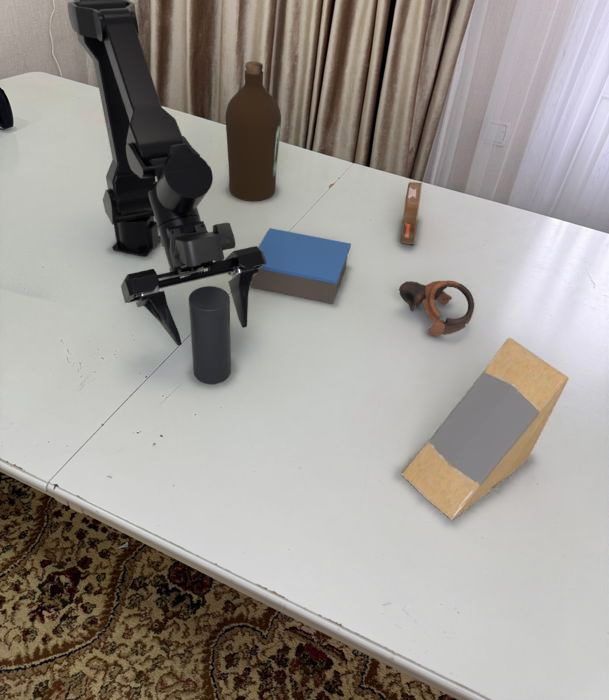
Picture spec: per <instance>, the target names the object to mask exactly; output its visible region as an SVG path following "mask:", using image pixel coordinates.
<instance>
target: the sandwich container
mask: <svg viewBox="0 0 609 700" xmlns="http://www.w3.org/2000/svg"><path fill="white" fill-rule="evenodd" d="M568 381H569V376H567V375H566V374H565V373H563V372H561V371H560V370H558V369H557V368H555V367H554V366H552V365H551V364H550V363H548V362H547V361H545V359H543V358H541V357H540V356H538V355H537V354H535V353H533V352H532V351H531V350H530V349H528V348H527V347H525V346H524V345H522V344H520V343H519V342H518V341H516V340H514V338H511V337H508V338H507V339H506V340H505V341H504V342H503V344H502V345H501V346H500V348H499V350H498V351H497V352H496V354H495V355H494V356H493V358H492V359H491V360H490V362H489V363H488V364H487V365H486V367H485V368H484V370H483V371H482V373H481V374H480V375H479V376H478V378H477V379H476V380H475V382H473V384H472V386H471V387H470V388H469V389H468V390H467V392H466V393H465V394H464V395H463V397H462V398H461V399H460V401H459V402H458V403H457V405H455V407H454V408H453V409H452V411H451V412H450V413H449V415H448V416H447V417H446V418H445V420H444V421H443V422H442V423H441V424H440V426H439V427H438V429H436V431H435V432H434V434H433V435H432V436H431V437H430V438H429V440H428V441H427V442H426V443H425V445H424V446H423V448H421V450H420V451H419V452H418V453H417V455H416V456H415V457H414V459H412V461H411V462H410V463H409V464H408V466H407V467H406V468H405V469H404V471H403V472H402V473H401V476H402V477H403V478H405V480H406V481H408V483H410V484H411V485H412V487H414V488H415V490H417V491H418V492H419V494H421V495H422V496H423V497H424V498H425V499H426V500H427V501H429V502H430V503H431V504H432V505H433V506H434V507H436V508H437V509H438V510H439V511H440V512H442V513H443V514H444V515H445V516H446V517H448V518H449V519H450V520H451V521H453V520H454V519H455V518H456V517H458V516H459V515H461V514H462V513H463V512H465V511H466V510H467V509H469V508H470V507H471V506H473V505H474V504H475V503H477V502H478V501H479V500H481V499H482V498H484V497H486V495H488V494H489V493H490V492H491V491H492V490H494V489H495V488H496V487H497V486H498V485H500V484H501V483H502V482H503V481H504V480H505V479H508V478H509V477H510V476H511V475H512V474H514V473H515V472H516V471H517V469H519V468H520V467H521V466H522V465H523V464H524V463H526V461H527V460H528V459H529V458H530V456H531V454H532V451H533V450H534V448H535V446H536V444H537V442H538V440H539V438H540V437H541V434H542V433H543V431H544V429H545V426H546V424H547V423H548V420H549V419H550V417H551V416H552V412H553V411H554V409H555V407H556V405H557V403H558V401H559V399H560V397H561V395H562V393H563V392H564V390H565V387H566V385H567V383H568Z"/></svg>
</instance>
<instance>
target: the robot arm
mask: <svg viewBox="0 0 609 700" xmlns="http://www.w3.org/2000/svg"><path fill="white" fill-rule="evenodd" d="M67 13H68V19H69V22H70V26H71V28H72V30H73V31H74V32H75V33H76V36H77V41H78V43H79V44H80V45H81V47H82V48H83V50H85V52H86V53H87V54H88V55H89V57H90V58H91V59H92V61H93V65H94V70H95V75H96V81H97V85H98V91H99V95H100V101H101V107H102V112H103V117H104V122H105V127H106V133H107V137H108V143H109V147H110V152H111V159H112V160H111V162H110V165H109V168H108V170H107V172H106V175H105V180H106V186H107V189H105V190H104V193H103V197H102V203H103V207H104V212H105V214H106V216H107V217H108V219H109V222H110V223H111V225H113V228H114V235H115V243H114V244H113V246H112V247H111V248H112V251H115V252H120V253H125V254H130V255H134V256H140V257H148V255H150V253H151V252H152V251H153V249H154V248H155V247H156V246H157V245H158V244H159V242H160V243H161V247H162V248H163V250H164V253H165V256H166V260H167V263H168V267H169V268H168V270H169V271H167V272H164V273H159V274H158V273H157V271H156V270H155V269H154V268H149V269H146V270H141V271H135V272H131V273H127V274H126V276H125V278H124V279H123V281H122V283H121V285H120V288H121V289H120V290H121V294H122V297H123V301H124V303H125V304H127V303H128V304H129V303H133V302H134V303H135V302H136V303H135V305H136V307H137V308H140V307H144V308H145V309H146V310H147V311H148V312H149V313H150V314H151V315H152V316H153V317H154V318H155V319H156V320H157V321H158V322H159V323H160V325H161V326H162V328H163V329H164V330H165V332H166V333H167V334H168V335H169V336H170V338H171V339H172V340H173V342H174V343H175V345H176V346H177V347H179V346H182V338H181V335H180V332H179V330H178V327H177V325H176V322H175V320H174V317H173V315H172V312H171V310H170V308H169V305H168V301H167V296H166V292H165V290H161V289H166V288H170V287H174V286H178V285H182V284H188V283H190V282H191V283H192V282H196V281H200V280H204V279H208V278H211V277H213V278H214V277H216V276H221V275H225V274H228V275H229V276H231V279H230V280H228V282H227V283H228V287H229V289H230V293H231V297H232V300H233V304H234V308H235V311H236V315H237V319H238V321H239V323H240V326H241V328H242V329H244V328H247V327H248V312H249V311H248V310H249V294H250V293H249V292H250V288H251V280H252V277H254V276H255V275H257V274H258V273H259V269H260V268H262V267H263V266H264V265H266V264H267V263H266V259H265V256H264V253H263V251H262V250H261V249H260V248H258V247H259V246H258V245H254V246H249V247H245V248H240V249H237V250H236V249H235V248H236V239H235V234H234V231H233V229H232V226H231V223H230V222H227V221H226V222H222V223H216V224H213V225H212V231H208V229H207V225H206V224H205V221H204V220H202V219H201V216H200V213H199V208H198V206H199V205H200V203H201V202H202V201H203V199H204V198H205V196H206V195H207V193H208V192H209V190H210V189H211V187H212V185H213V178H214V177H213V171H212V168H211V166H210V165H209V164H208V163H207V161H206V160H204V158H203V157H201V154H200V153H199V152H198V151H197V150H195V148H194V147H193V146H192V144H191V143H190V142H189V141H188V139H187V138H186V137H185V135H182V131H181V129H180V127H179V125H178V122H177V120H176V118H175V117H174V116H172V114H170V113H169V112H168V111H167V110H165V109H164V107H163V106H162V104H161V101H160V98H159V95H158V92H157V89H156V86H155V83H154V80H153V77H152V74H151V71H150V68H149V64H148V62H147V59H146V56H145V53H144V49H143V46H142V43H141V40H140V38H139V23H138V19H137V11H136V4H135V2H133V1H131V0H73V1H70V2H69V1H68V2H67ZM232 249H235V250H233V251H232V252H231V253H230V254H228V255H227V257H225V256H224V255H225V254H224V251H227V250H232ZM160 290H161V291H160Z"/></svg>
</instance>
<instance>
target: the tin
mask: <svg viewBox="0 0 609 700" xmlns="http://www.w3.org/2000/svg"><path fill="white" fill-rule="evenodd" d="M422 186H423V182H414V181H410V182H408V183H407V188H406V194H405V202H404V209H403V217H402V218H403V219H402V230H401V235H400V243H401V244H406V245H407V244H408V245H413V246H414V245H415V242H416V232H417V227H418V217H419V209H420V203H421V195H422Z"/></svg>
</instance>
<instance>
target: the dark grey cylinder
mask: <svg viewBox="0 0 609 700" xmlns="http://www.w3.org/2000/svg"><path fill="white" fill-rule="evenodd" d="M188 310H189V311H188V312H189V323H190V324H189V325H190V337H191V339H190V340H191V351H192V367H193V375H194V377H195V379H196V380H197V381H199V382H200V383H203V384H206V385H217V384H221V383H223V382H224V381H226V380H228V379H229V377H230V376H231V374H232V354H231V353H232V352H231V351H232V350H231V297H230V295H229V293H228V291H226V290H225V289H224V288H222V287H218V286H213V285H207V286H201V287H198V288H196V289H194V290H192V291H191V292H190V294H189V296H188Z"/></svg>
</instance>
